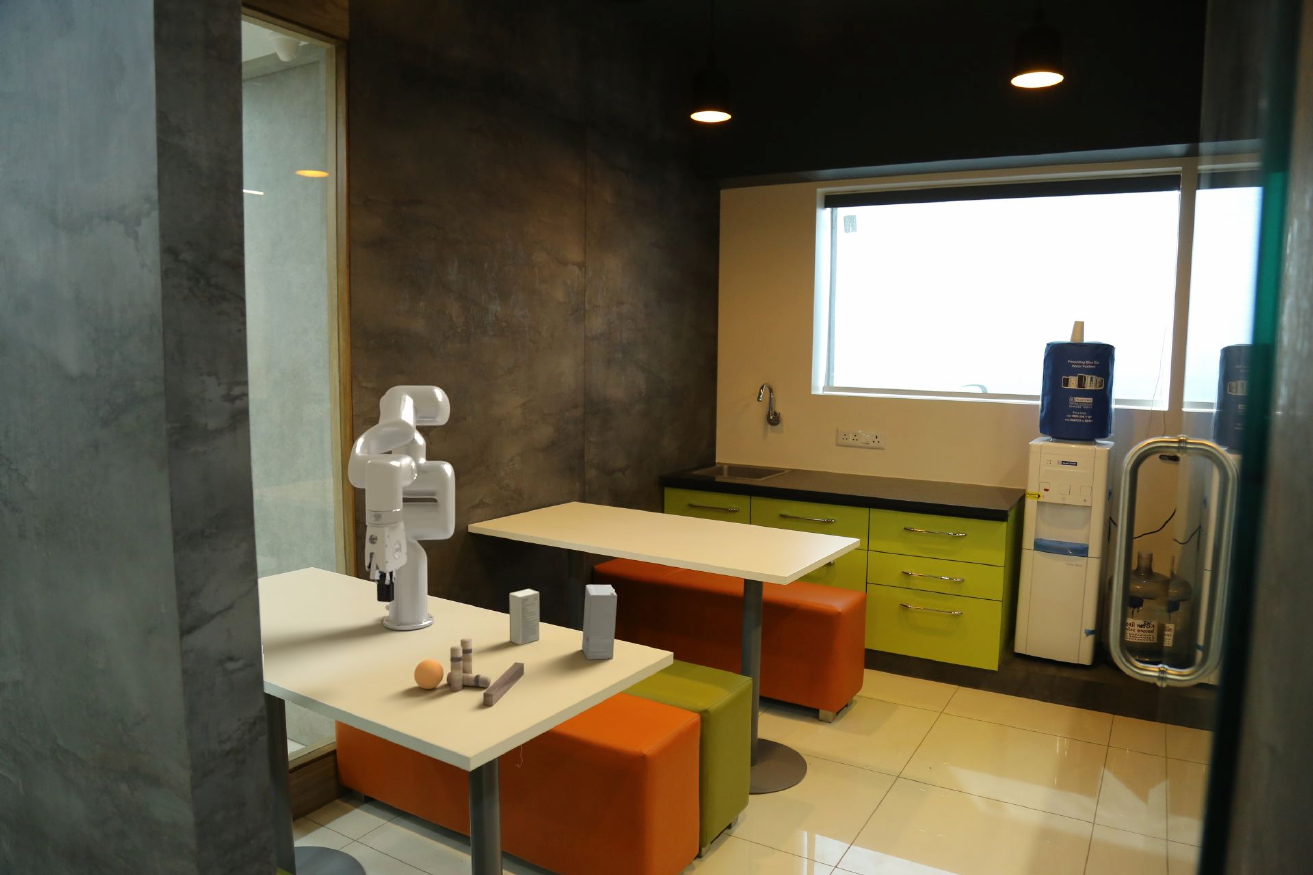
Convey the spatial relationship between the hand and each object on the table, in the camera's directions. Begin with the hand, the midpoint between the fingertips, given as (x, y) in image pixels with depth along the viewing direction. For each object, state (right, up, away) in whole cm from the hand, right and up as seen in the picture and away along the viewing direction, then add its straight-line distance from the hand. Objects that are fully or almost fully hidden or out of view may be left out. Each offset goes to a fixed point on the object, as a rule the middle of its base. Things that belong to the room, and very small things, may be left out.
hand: (385, 600), depth 189 cm
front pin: (+14, -16, -1) cm, 21 cm away
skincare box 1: (+26, -15, +27) cm, 40 cm away
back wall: (+26, -18, -4) cm, 32 cm away
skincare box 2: (+45, -16, +19) cm, 51 cm away
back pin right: (+16, -18, -4) cm, 24 cm away
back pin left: (+17, -17, +1) cm, 24 cm away
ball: (+10, -15, -4) cm, 18 cm away
